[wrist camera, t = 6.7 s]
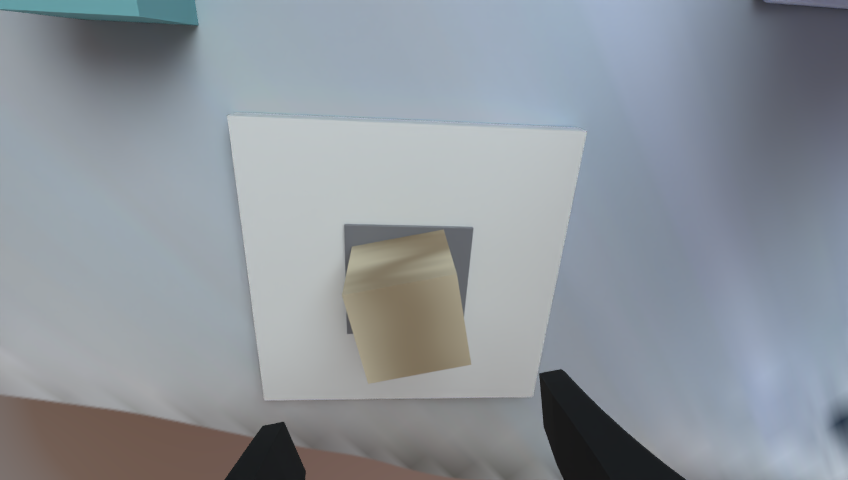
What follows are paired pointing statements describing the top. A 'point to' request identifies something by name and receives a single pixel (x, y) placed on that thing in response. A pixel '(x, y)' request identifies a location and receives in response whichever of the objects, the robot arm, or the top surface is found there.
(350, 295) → the birch brick
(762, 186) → the top surface
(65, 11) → the teal brick
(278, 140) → the baseplate
